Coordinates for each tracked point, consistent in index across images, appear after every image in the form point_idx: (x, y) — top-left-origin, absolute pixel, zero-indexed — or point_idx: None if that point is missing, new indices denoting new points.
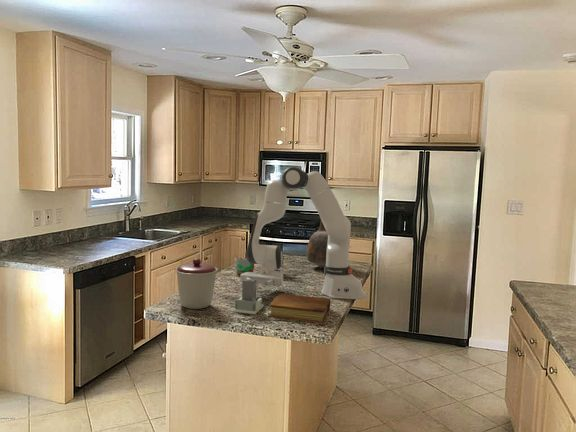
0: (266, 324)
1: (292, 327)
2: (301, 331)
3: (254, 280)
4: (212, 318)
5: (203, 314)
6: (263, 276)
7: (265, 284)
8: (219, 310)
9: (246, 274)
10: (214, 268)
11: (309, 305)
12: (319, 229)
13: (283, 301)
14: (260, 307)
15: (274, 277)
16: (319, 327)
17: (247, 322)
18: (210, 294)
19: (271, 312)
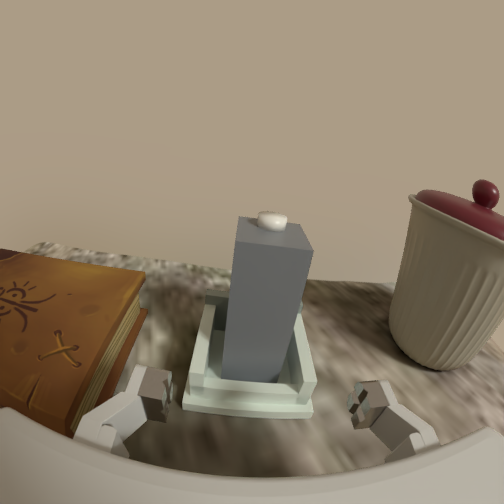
0: (156, 270)
1: (92, 261)
2: (80, 250)
3: (237, 226)
4: (314, 285)
5: (354, 300)
6: (235, 494)
7: (172, 386)
8: (342, 332)
9: (475, 458)
10: (443, 203)
11: (9, 271)
12: None
13: (79, 299)
14: (190, 365)
15: (52, 448)
16: None
17: (211, 275)
18: (400, 295)
19: (138, 301)
